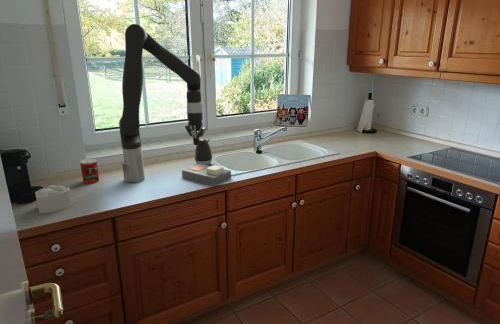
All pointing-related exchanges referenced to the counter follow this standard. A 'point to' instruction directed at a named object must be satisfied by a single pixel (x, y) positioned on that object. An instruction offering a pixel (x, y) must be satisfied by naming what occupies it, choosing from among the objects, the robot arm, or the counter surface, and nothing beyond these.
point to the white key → (215, 170)
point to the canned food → (89, 171)
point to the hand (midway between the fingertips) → (196, 144)
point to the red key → (197, 168)
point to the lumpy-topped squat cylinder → (53, 198)
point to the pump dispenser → (203, 152)
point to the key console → (205, 175)
